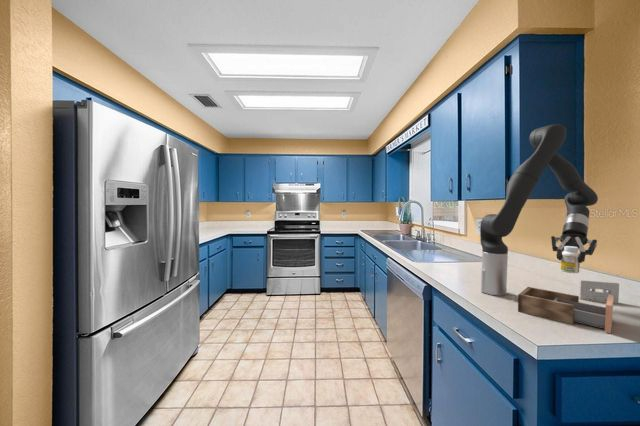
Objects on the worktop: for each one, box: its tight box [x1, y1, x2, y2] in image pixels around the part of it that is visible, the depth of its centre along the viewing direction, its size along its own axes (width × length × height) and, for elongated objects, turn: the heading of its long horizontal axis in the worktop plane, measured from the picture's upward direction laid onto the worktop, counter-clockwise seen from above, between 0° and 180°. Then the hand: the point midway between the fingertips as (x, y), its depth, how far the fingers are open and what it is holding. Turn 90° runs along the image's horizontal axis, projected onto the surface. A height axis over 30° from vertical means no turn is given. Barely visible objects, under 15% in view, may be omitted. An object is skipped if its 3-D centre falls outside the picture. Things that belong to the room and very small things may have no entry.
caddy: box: [517, 286, 580, 325], centre depth 101 cm, size 15×14×6 cm
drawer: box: [553, 295, 614, 334], centre depth 94 cm, size 14×14×8 cm
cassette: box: [578, 279, 620, 304], centre depth 113 cm, size 12×2×8 cm, turn 72°
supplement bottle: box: [560, 246, 581, 274], centre depth 111 cm, size 5×5×10 cm
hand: (569, 260), depth 109 cm, fingers closed on supplement bottle, 5 cm apart
